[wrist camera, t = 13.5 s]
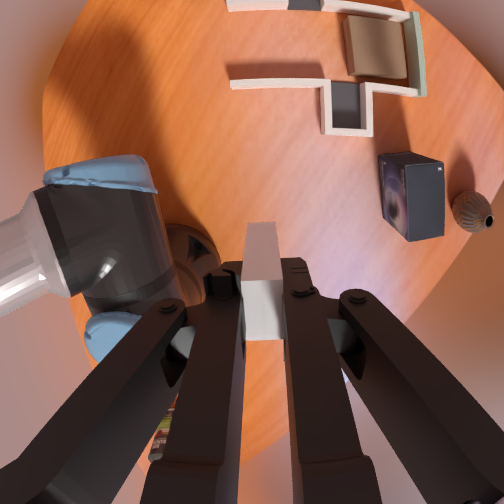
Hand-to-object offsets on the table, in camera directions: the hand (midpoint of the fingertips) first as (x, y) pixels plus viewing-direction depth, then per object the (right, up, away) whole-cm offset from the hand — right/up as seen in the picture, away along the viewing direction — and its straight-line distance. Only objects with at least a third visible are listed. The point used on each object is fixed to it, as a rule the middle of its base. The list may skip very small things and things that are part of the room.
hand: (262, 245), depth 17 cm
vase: (+36, +8, +27) cm, 46 cm away
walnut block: (+17, +30, +19) cm, 39 cm away
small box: (+22, +10, +27) cm, 36 cm away
